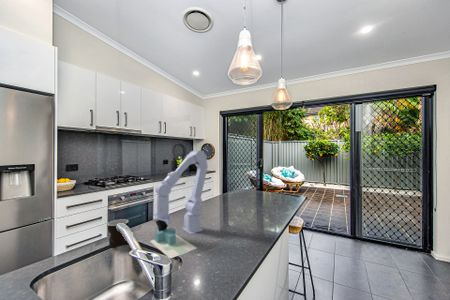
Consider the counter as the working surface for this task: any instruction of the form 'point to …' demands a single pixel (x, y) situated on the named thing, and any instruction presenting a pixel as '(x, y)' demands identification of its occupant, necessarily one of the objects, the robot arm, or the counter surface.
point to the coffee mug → (116, 233)
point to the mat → (174, 247)
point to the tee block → (166, 236)
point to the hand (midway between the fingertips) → (162, 234)
